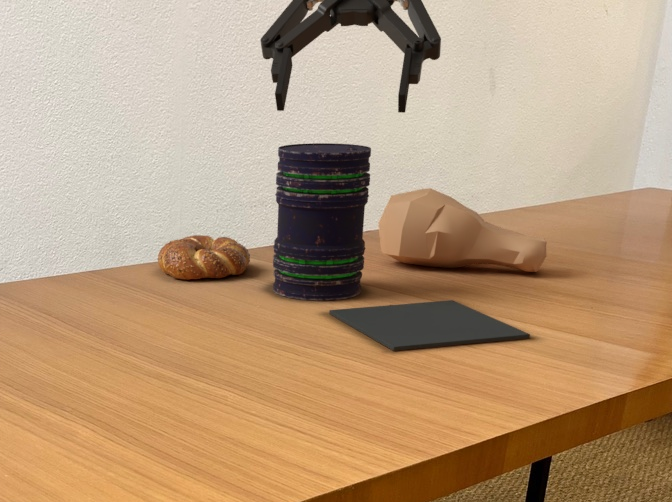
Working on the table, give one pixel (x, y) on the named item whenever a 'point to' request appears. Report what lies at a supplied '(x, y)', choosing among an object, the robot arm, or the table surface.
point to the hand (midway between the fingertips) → (339, 103)
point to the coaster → (427, 325)
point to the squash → (451, 235)
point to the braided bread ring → (203, 257)
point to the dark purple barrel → (320, 220)
